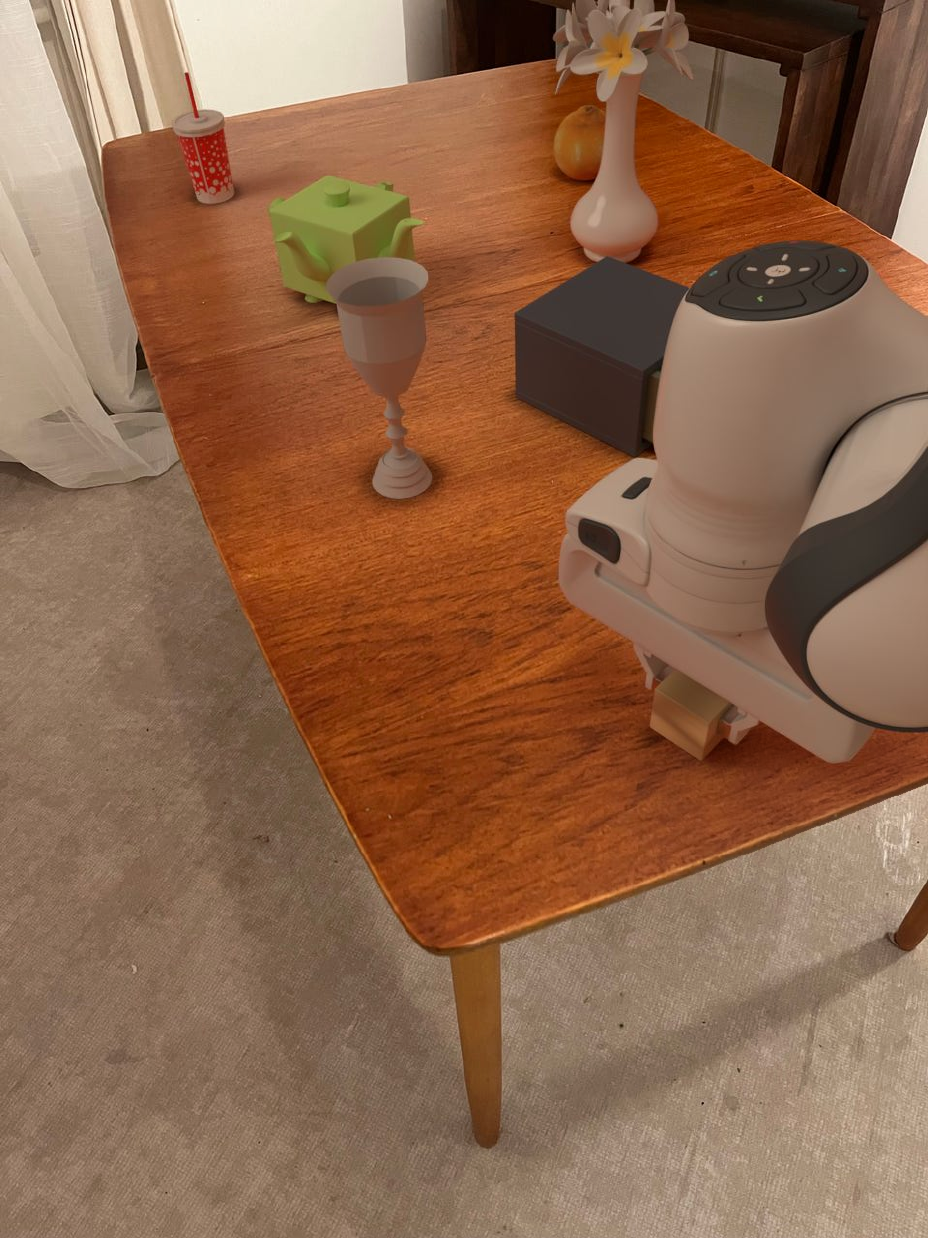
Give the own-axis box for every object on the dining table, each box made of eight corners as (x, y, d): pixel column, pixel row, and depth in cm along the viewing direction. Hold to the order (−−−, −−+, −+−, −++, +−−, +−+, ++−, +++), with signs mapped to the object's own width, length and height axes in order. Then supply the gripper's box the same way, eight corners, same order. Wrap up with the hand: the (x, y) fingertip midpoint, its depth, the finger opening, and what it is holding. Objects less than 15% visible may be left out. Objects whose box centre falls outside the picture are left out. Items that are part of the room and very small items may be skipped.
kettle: (432, 317, 100) (422, 209, 91) (293, 340, 98) (271, 233, 90) (405, 248, 110) (394, 145, 101) (279, 269, 108) (258, 166, 100)
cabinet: (720, 391, 89) (735, 304, 82) (635, 458, 83) (643, 370, 77) (601, 339, 95) (607, 255, 89) (515, 397, 90) (514, 312, 83)
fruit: (587, 178, 114) (607, 103, 111) (533, 167, 118) (550, 95, 116) (622, 192, 120) (642, 122, 118) (569, 182, 125) (587, 113, 122)
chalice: (367, 513, 80) (335, 314, 66) (352, 463, 84) (318, 267, 71) (454, 494, 81) (439, 294, 68) (434, 446, 85) (416, 249, 72)
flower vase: (642, 205, 114) (663, -48, 96) (690, 283, 102) (725, 10, 83) (532, 218, 113) (532, -35, 95) (567, 298, 101) (575, 26, 82)
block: (737, 722, 63) (747, 684, 60) (701, 761, 61) (709, 723, 58) (686, 690, 65) (692, 651, 62) (649, 727, 63) (654, 688, 60)
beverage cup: (246, 184, 123) (219, 62, 113) (233, 206, 119) (204, 82, 109) (199, 184, 124) (168, 63, 113) (184, 206, 120) (151, 83, 109)
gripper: (943, 612, 48) (873, 770, 58) (612, 446, 58) (602, 605, 68) (878, 688, 45) (816, 840, 55) (542, 499, 55) (542, 657, 66)
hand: (695, 709), depth 62 cm, fingers closed on block, 4 cm apart
